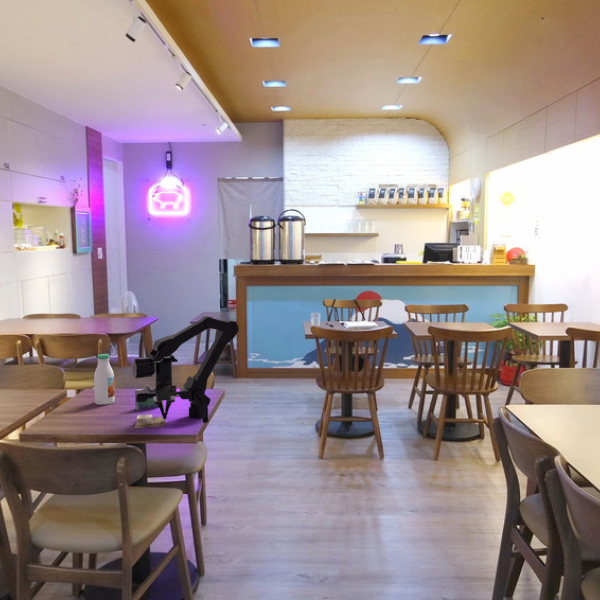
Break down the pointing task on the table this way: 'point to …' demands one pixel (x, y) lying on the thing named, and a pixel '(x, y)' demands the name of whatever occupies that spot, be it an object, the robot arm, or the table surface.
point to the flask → (149, 402)
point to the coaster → (144, 419)
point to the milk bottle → (104, 381)
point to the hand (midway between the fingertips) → (164, 418)
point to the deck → (153, 423)
